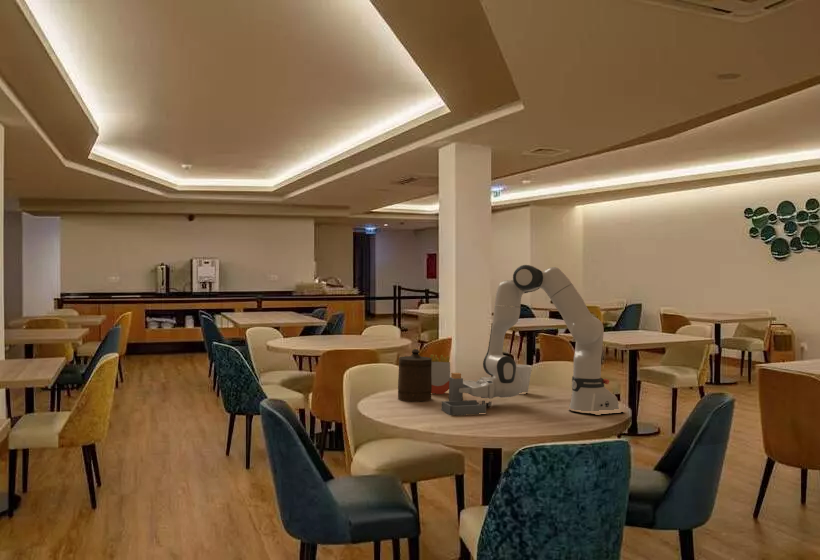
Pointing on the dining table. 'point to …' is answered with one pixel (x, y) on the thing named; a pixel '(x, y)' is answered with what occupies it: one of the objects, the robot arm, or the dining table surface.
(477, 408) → the tray
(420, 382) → the wooden container
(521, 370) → the foam cup
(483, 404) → the clip
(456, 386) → the grey corked bottle
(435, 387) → the french fries container
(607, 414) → the dining table surface
